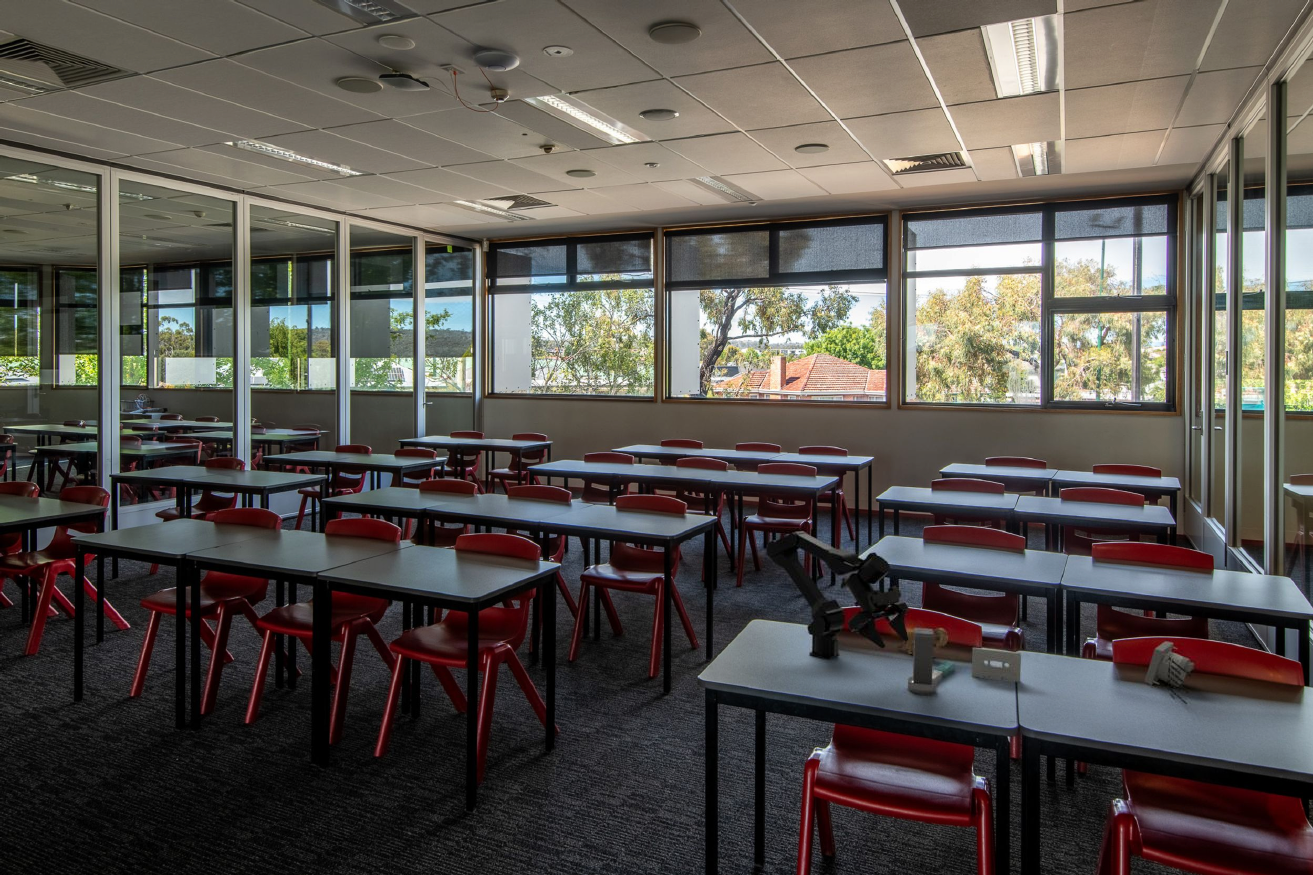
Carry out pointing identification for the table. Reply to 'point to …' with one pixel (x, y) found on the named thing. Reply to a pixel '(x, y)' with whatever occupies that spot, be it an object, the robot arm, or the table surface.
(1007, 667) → the cassette
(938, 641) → the lion figurine
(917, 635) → the charcoal square pillar
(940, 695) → the table surface
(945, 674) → the ratchet
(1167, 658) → the grey pronged block
